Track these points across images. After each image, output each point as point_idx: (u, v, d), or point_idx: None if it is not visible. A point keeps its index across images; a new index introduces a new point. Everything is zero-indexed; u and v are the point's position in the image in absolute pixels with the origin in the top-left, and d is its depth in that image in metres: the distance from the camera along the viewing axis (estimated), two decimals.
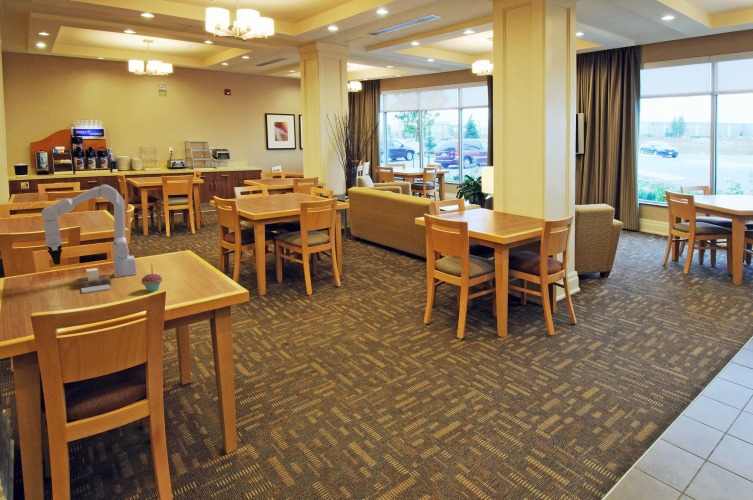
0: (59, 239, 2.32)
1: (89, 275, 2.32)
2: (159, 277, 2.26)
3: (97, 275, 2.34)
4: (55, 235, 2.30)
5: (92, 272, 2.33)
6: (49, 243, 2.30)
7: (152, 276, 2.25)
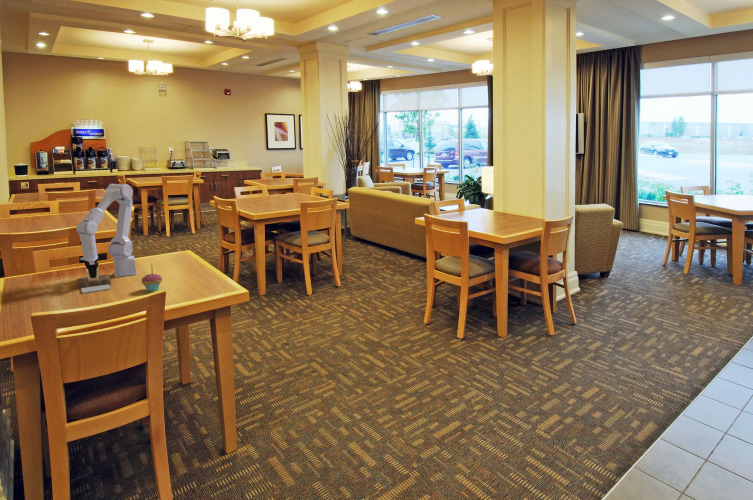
0: (95, 253, 2.32)
1: (89, 275, 2.32)
2: (159, 277, 2.26)
3: (97, 275, 2.34)
4: (92, 249, 2.30)
5: None
6: (86, 257, 2.30)
7: (152, 276, 2.25)
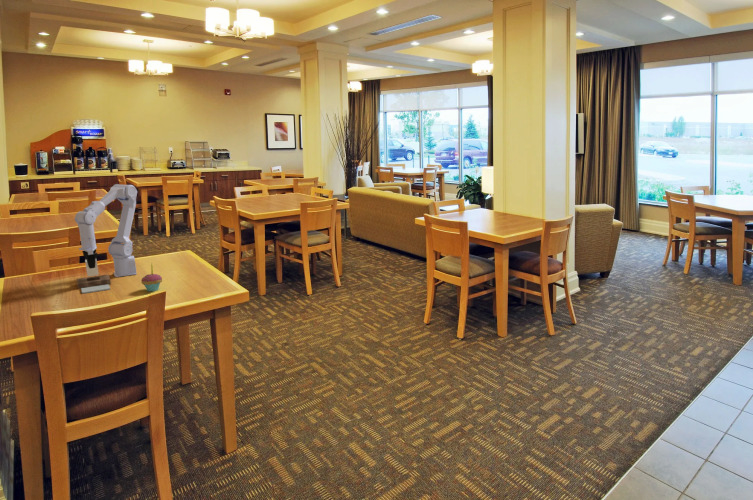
0: (94, 243, 2.31)
1: None
2: (159, 277, 2.26)
3: (96, 265, 2.33)
4: (90, 239, 2.29)
5: None
6: (84, 247, 2.29)
7: (152, 276, 2.25)
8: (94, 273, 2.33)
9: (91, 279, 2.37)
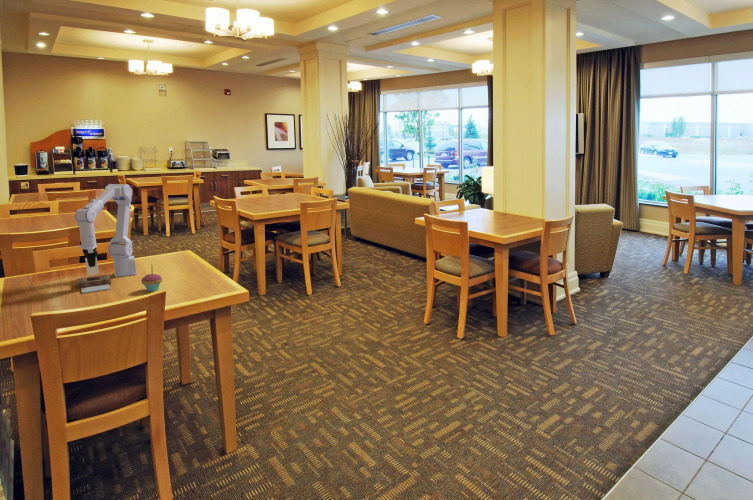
0: (94, 241, 2.27)
1: (88, 264, 2.27)
2: (159, 277, 2.26)
3: (96, 264, 2.29)
4: (91, 237, 2.25)
5: None
6: (84, 245, 2.25)
7: (152, 276, 2.25)
8: (95, 272, 2.29)
9: (91, 279, 2.37)
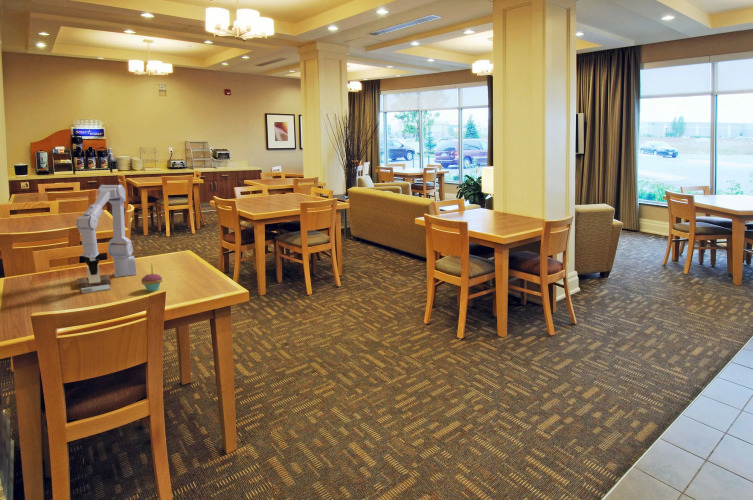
0: (96, 249, 2.24)
1: (89, 272, 2.23)
2: (159, 277, 2.26)
3: (98, 272, 2.25)
4: (92, 245, 2.22)
5: None
6: (86, 253, 2.21)
7: (152, 276, 2.25)
8: (96, 280, 2.26)
9: None
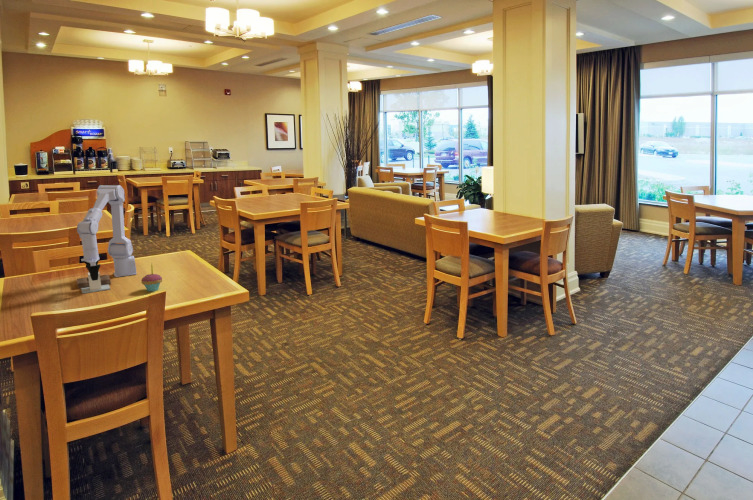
0: (97, 254, 2.24)
1: (90, 279, 2.24)
2: (159, 277, 2.26)
3: (99, 279, 2.26)
4: (93, 250, 2.22)
5: None
6: (87, 258, 2.22)
7: (152, 276, 2.25)
8: (97, 287, 2.26)
9: None
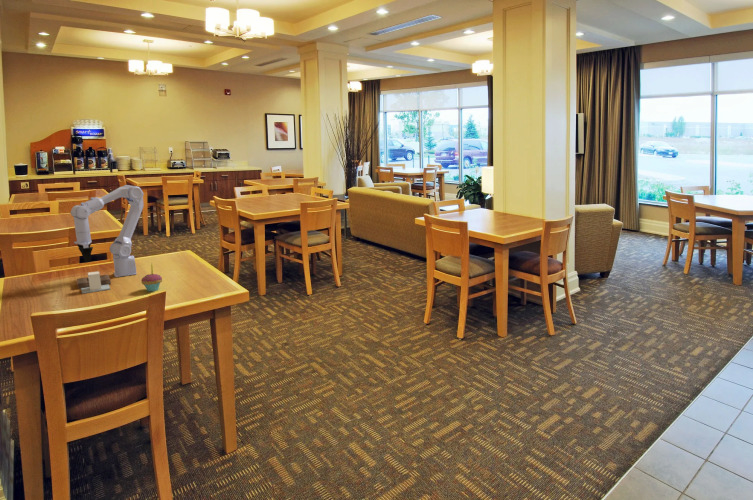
0: (89, 237, 2.35)
1: (90, 279, 2.24)
2: (159, 277, 2.26)
3: (99, 279, 2.26)
4: (86, 233, 2.33)
5: (93, 276, 2.25)
6: (80, 241, 2.32)
7: (152, 276, 2.25)
8: (97, 287, 2.26)
9: None
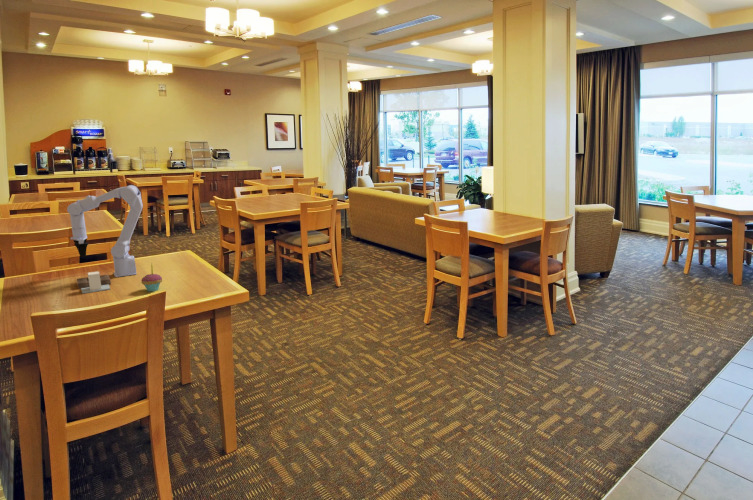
0: (85, 233, 2.43)
1: (90, 279, 2.24)
2: (159, 277, 2.26)
3: (99, 279, 2.26)
4: (81, 229, 2.41)
5: (93, 276, 2.25)
6: (75, 237, 2.41)
7: (152, 276, 2.25)
8: (97, 287, 2.26)
9: None
